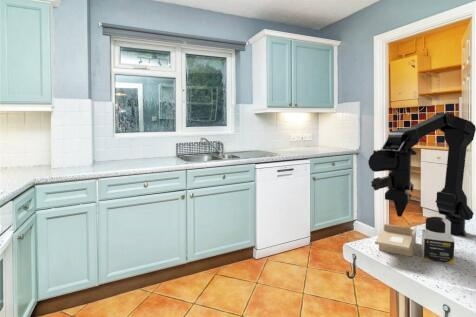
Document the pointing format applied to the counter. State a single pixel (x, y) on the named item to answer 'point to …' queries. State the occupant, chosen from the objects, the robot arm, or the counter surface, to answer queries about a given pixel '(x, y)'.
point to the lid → (395, 236)
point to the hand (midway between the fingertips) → (399, 216)
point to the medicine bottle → (438, 240)
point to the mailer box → (401, 251)
